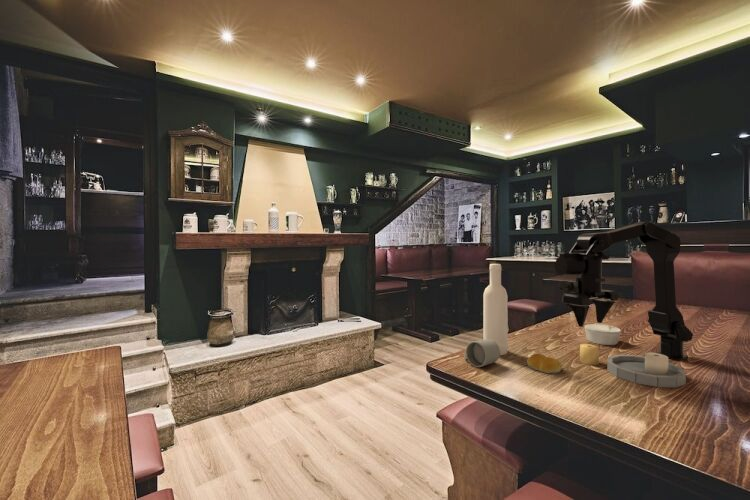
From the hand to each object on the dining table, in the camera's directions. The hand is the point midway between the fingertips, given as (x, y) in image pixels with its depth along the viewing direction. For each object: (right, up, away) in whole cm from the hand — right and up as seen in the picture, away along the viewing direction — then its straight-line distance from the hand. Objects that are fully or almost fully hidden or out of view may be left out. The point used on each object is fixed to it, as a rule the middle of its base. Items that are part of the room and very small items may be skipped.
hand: (590, 324), depth 107 cm
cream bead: (+11, -11, -12) cm, 19 cm away
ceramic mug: (-34, -13, +1) cm, 36 cm away
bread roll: (-16, -13, -4) cm, 21 cm away
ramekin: (+18, -11, +21) cm, 30 cm away
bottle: (-25, -12, +12) cm, 30 cm away
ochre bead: (0, -12, +1) cm, 12 cm away
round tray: (+9, -12, -9) cm, 18 cm away
